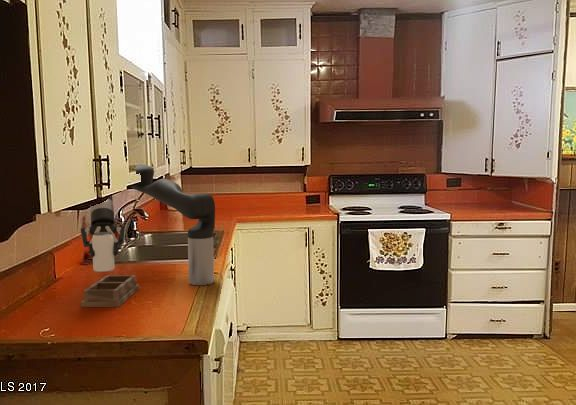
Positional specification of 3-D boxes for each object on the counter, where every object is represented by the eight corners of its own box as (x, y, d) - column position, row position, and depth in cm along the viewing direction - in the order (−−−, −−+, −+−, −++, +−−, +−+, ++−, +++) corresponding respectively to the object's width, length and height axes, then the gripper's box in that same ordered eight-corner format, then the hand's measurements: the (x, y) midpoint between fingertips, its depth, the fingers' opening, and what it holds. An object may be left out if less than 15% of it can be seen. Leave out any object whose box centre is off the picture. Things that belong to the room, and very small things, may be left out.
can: (110, 272, 153) (108, 235, 152) (90, 272, 153) (88, 235, 152) (117, 267, 160) (116, 231, 158) (98, 267, 160) (96, 231, 158)
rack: (105, 288, 172) (104, 275, 172) (139, 288, 172) (138, 274, 172) (81, 306, 151) (80, 291, 151) (119, 306, 151) (118, 291, 151)
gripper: (124, 219, 170) (127, 259, 160) (80, 221, 164) (80, 263, 155) (124, 206, 164) (128, 246, 154) (78, 207, 159) (79, 250, 149)
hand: (104, 254), depth 154 cm, fingers closed on can, 6 cm apart
